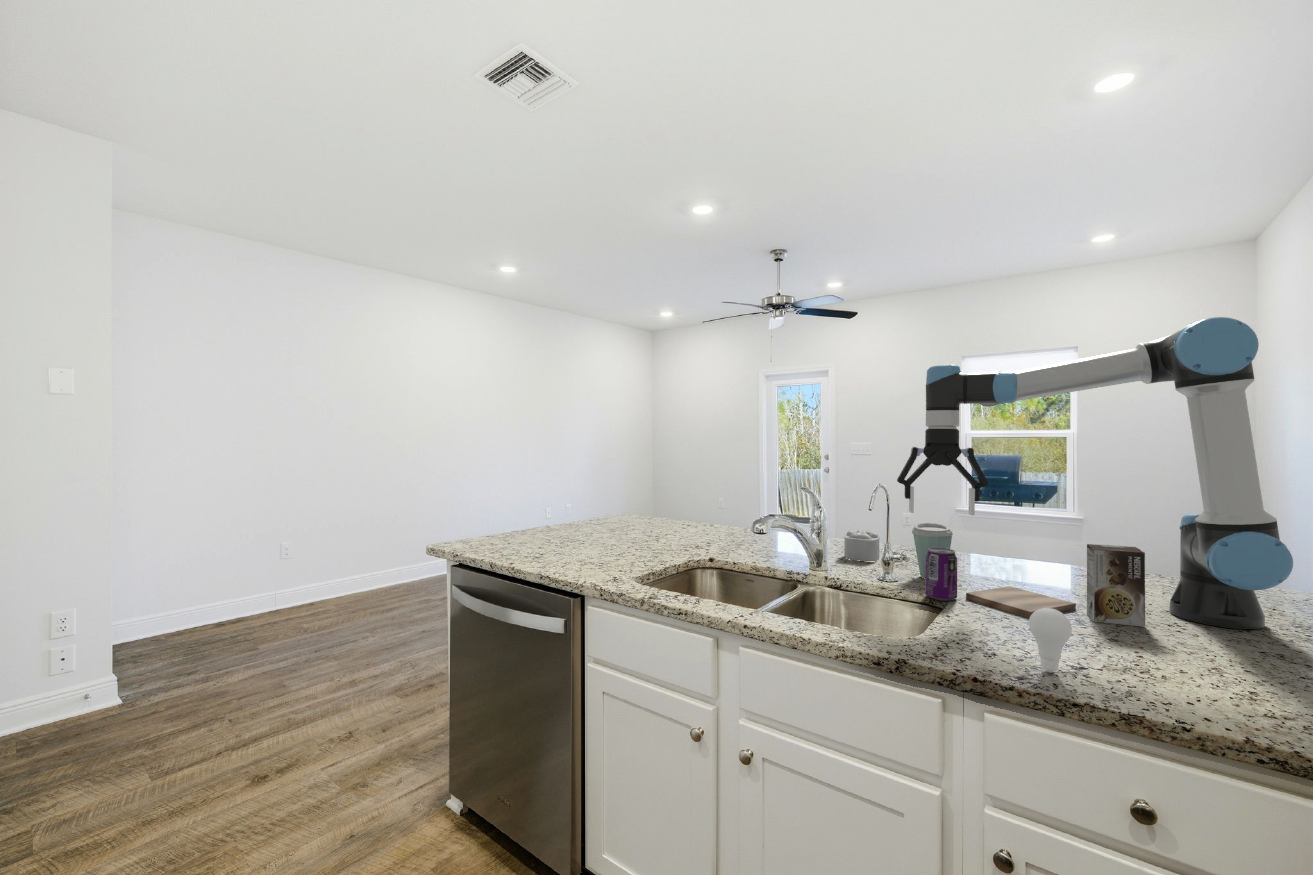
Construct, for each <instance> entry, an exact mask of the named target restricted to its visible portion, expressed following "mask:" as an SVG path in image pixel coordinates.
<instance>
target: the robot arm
mask: <svg viewBox="0 0 1313 875" xmlns="http://www.w3.org/2000/svg"><path fill="white" fill-rule="evenodd" d="M1257 336H1258V335H1257V334H1256V332H1255V331H1254V329H1253V328H1251V326H1249V325H1248V324H1246V322H1245V323H1244V322H1243V321H1241V320H1240V319H1235V318H1233V317H1227V316H1216V317H1208V318H1203V319H1201V320H1196V321H1193V322H1191V323H1189V324H1187V325H1186V326H1184V327H1183V328H1181V329H1180V330H1177V331H1176V332H1173V333H1172V334H1169V335H1167V336H1164V337H1160V338H1158V339H1154V340H1150V341H1146V342H1140V343H1138V344H1137V345H1136V346H1135V347H1134V348H1132V349H1127V350H1121V351H1117V352H1111V353H1107V354H1105V353H1104V354H1100V355H1096V356H1091V357H1085V358H1078V359H1075V360H1069V361H1063V362H1057V363H1054V364H1048V365H1043V366H1037V367H1032V368H1027V369H1022V370H1016V371H1004V370H999V371H989V372H988V371H987V372H985V371H984V372H962V371H961V367H960V366H959V365H956V364H941V365H940V364H939V365H933V366H930V367H928V369H927V370H926V378H925V379H926V381H925V426H926V427H927V428H926V429H925V436H924V438H925V441H924V443H925V444H924V447H923V448H922V447H921V448H920V447H917V446H912V447H911V449H910V456H909V457H908V459H907V461H906V463H905V464H904V467H903V468H902V470H901V471H900V473H899V476H898V477H897V479H896V481H897V482H898V483H899V484H901V485H903V487H904V499H907V500H908V511H909V513H911V514H914V509H915V505H914V504H915V486H914V485H912V484H913V483H914V482H915V481H916V480H917V479H918V478H919V477H920V476H921V475H922V474H923V473H924V472H925V471H926V470H927V469H928V468H929V467H930V466H931V465H934V466H947V467H949V466H951V465H952V466H953V467H955V469H956V470H958V472H959V473H960V475H962V476H963V477H964V479H965V480H966V481H967V482H968V483H969V484H970V485H971V487H968V515H970V516H975V515H976V514H975V511H976V510H975V509H976V508H975V507H976V504H975V502H979V501H980V492H981V491H980V490H981V488H984V487H988V486H989V482H988V481H989V480H987V477H986V476H985V474H984V471H983V470H982V468H981V467H980V465H979V463H978V461H977V460H976V457H975V451H974V450H975V449H974V448H973V447H967V448H960V430H959V429H958V427H960V405H963V404H964V405H968V404H970V405H971V404H972V405H973V404H975V405H976V404H979V405H981V406H983V407H994V406H997V405H1004V404H1013V403H1016V402H1020V401H1025V400H1031V399H1037V398H1042V397H1050V396H1055V395H1061V394H1068V393H1072V392H1073V393H1074V392H1080V391H1085V390H1093V389H1097V388H1103V387H1111V386H1116V385H1117V386H1118V385H1121V384H1128V383H1134V382H1135V383H1136V382H1142V383H1144V384H1146V385H1149V384H1150V385H1151V384H1154V383H1155V384H1156V383H1162V382H1165V383H1166V382H1174V388H1175V391H1177V392H1178V393H1180V394H1182V395H1183V396H1185V398H1186V401H1187V402H1186V403H1187V409H1188V414H1189V416H1188V417H1189V420H1190V421H1189V422H1190V427H1191V428H1190V430H1191V435H1192V440H1193V448H1194V453H1195V460H1196V468H1197V474H1198V481H1199V488H1200V494H1201V500H1202V507H1203V510H1202V512H1201V514H1194V513H1189V514H1184V515H1183V516H1181V518H1180V519H1181V521H1180V525H1179V530H1180V550H1179V551H1180V558H1179V563H1180V564H1179V568H1180V569H1179V570H1180V572H1179V575H1180V576H1179V577H1180V578H1179V581H1178V583H1177V585H1176V588H1174V589H1175V590H1174V591H1173V594H1172V596H1171V598H1170V600H1169V609H1168V610H1169V613H1171V614H1172V615H1174V616H1177V617H1178V618H1181V619H1183V620H1187V621H1191V622H1195V623H1198V622H1199V624H1203V625H1207V624H1208V626H1213V627H1218V626H1219V628H1225V629H1227V628H1228V629H1233V628H1234V629H1235V630H1246V629H1255V630H1261V629H1260V628H1262V629H1264V628H1265V627H1266V616H1265V614H1264V611H1263V608H1262V607H1261V604H1260V602H1259V600H1258V597H1257V594H1256V592H1255V591H1263V590H1267V589H1268V590H1269V589H1272V588H1275V587H1277V586H1279V585H1280V584H1282V583H1283V582H1285V581H1286V580H1287V579H1288V578H1289V577H1290V575H1291V573H1292V571H1293V568H1294V559H1293V556H1292V553H1291V551H1290V549H1288V547H1287V545H1286V544H1285V543H1284V542H1282V541H1281V538H1280V533H1279V532H1280V531H1279V526H1278V520H1277V517H1275V516H1273V515H1272V514H1270V513H1269V512H1267V511H1265V509H1264V504H1263V498H1262V497H1263V496H1262V490H1261V482H1260V477H1259V472H1258V471H1259V470H1258V464H1257V459H1256V452H1255V444H1254V439H1253V438H1254V437H1253V433H1252V426H1251V421H1250V413H1249V407H1248V401H1247V393H1246V390H1247V389H1248V387H1249V386H1251V385H1252V383H1254V381H1255V374H1254V367H1253V360H1255V358H1256V356H1257V353H1258V351H1259V344H1260V343H1259V339H1258V337H1257ZM922 453H923V455H924V456H925V457H926V459H925V460H924V461H922V463H921V464H920V465H919V466H918V467H917V468H916V470H914V471H913V473H912V474H910V475H909V476H908V474H909V472H910V470H911V469H912V467H913V465H914V463H915V461H916V460H917V458H918V457H920V455H921V454H922ZM961 454H962V455H963V456H964V457H965V458H966V459H967V461H968V463H969V464H970V467H971V468H972V470H973V472H974V474H975V476H976V478H977V480H978V481H977V480H976V479H975V478H974V476H973V475H971V474H970V472H969V471H968V470H967V469H966V468H965V467H964V465H963V464H962V463H961V462H960V461H959V460H958V458H959V457H960V456H961ZM907 476H908V478H907Z"/></svg>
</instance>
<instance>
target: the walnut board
mask: <svg viewBox="0 0 1313 875" xmlns="http://www.w3.org/2000/svg"><path fill="white" fill-rule="evenodd" d="M965 599H966V600H968V601H970V602H971V601H972V602H974V603H978V604H981V605H984V606H987V607H990V608H995V609H997V610H1001V611H1005V612H1008V613H1011V614H1014V615H1017V616H1021V617H1024V618H1028V619H1030V616H1031V615H1032V614H1033V613H1034V612H1035V611H1036V610H1038V609H1041V608H1052V609H1055V610H1058V611H1060V612H1061V613H1067V612H1071V611H1076V608H1077V607H1076V606H1077V605H1076V604H1077V603H1076V602H1071V601H1068V600H1064V599H1061V598H1057V597H1054V596H1048V595H1046V594H1042V593H1037V592H1033V591H1030V590H1026V589H1022V588H1018V587H1014V586H1010V585H1009V586H1002V587H995V588H989V589H984V590H975V591H970V592H966V593H965Z"/></svg>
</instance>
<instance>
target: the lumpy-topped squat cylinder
mask: <svg viewBox="0 0 1313 875" xmlns="http://www.w3.org/2000/svg"><path fill="white" fill-rule="evenodd" d="M843 545H844V546H843V547H844V549H843V550H844V554H843V555H844V556H843V558H844V557H845V558H847V559H850V560H860V561H877V560H878V561H879V560H880V537H879V534H878V533H877V532H872V531H870V530H867V531H865V532H864V531H863V530H861V529H859V530H857V531H856V532H854V531H853V530H848V531H847V532H846V535H845V536H844V544H843ZM878 561H877V562H878Z"/></svg>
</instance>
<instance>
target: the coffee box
mask: <svg viewBox="0 0 1313 875" xmlns="http://www.w3.org/2000/svg"><path fill="white" fill-rule="evenodd" d="M1086 615H1087V616H1088V617H1089V618H1090V619H1091V620H1092V621H1093V622H1094V623H1103V624H1113V625H1122V626H1123V625H1124V626H1132V627H1141V628H1146V553H1145V551H1143V550H1141V549H1140V548H1138V547H1136V546H1128V545H1127V546H1125V545H1110V544H1109V545H1108V544H1093V543H1091V544H1090V543H1087V544H1086Z"/></svg>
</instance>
